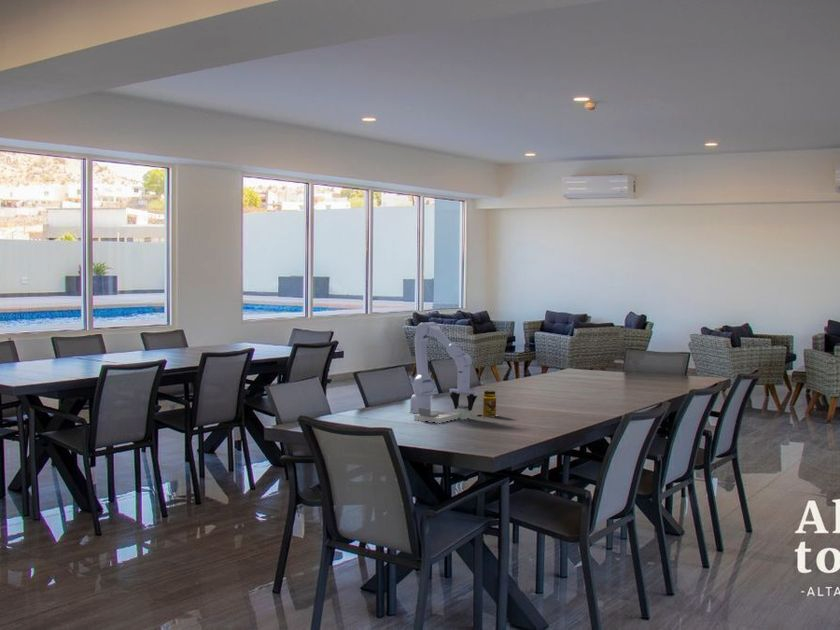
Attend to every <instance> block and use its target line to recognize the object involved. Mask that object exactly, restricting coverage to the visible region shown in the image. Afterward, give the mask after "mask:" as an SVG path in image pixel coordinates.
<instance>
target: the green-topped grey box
mask: <svg viewBox="0 0 840 630" xmlns="http://www.w3.org/2000/svg"><path fill="white" fill-rule="evenodd" d="M456 413H457V414H459V418H460V419H459V420H463V419H465V420H468V419H467V418H469V419H470V411H468V404H467V405H465V404H460V405H459V406H457V409H456Z"/></svg>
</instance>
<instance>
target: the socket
mask: <svg viewBox="0 0 840 630" xmlns="http://www.w3.org/2000/svg"><path fill="white" fill-rule="evenodd" d="M431 412H432V413H439V415H438V416H433V417H427V416H420V415H419V414H416V413H415V414H414V415H413V416H414V417H413V420H414V421H417V420H420V421H419V422H425V421H428V422H427V423H432V422H435V423H434V424H439V423H440V424H443V423H442V422H444V423H447V422H446V421H448V422H451V421H450V420H452V421H455V420H454V419H456V420H459V419H458V418H459V414H457V412H450V411H440V410H431Z"/></svg>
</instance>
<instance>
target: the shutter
mask: <svg viewBox="0 0 840 630" xmlns="http://www.w3.org/2000/svg"><path fill="white" fill-rule="evenodd" d="M431 411H432V408H431V409H426V408H419V415H420V416H427V417H433V416H438V415H439V413H432V412H431Z"/></svg>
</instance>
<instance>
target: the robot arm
mask: <svg viewBox="0 0 840 630" xmlns="http://www.w3.org/2000/svg"><path fill="white" fill-rule="evenodd" d="M431 338H435V339H436V340H437V341H438V342H439V343H441V344H442V345H443V346H444V347H445V348H446V353H447V354H448V355H449V356H450V358H452V359H453V360H454V364H455V366H456V369H457V384H456V385H457V386H456V387H457V388H449V396H450V398H451V400H452V402H453V403H452V404H453V406H454V407H453V408H454V410H457V406H459V404H460V400H459V399H460V395H466V399H467V406H468V411H469V412H470V411H473V407H474V405H475V404H474V403H475V402H476V399H477V398H478V395H479V391H478V390H472V389H470V388H471V387H470V386H471V384H470V382H471V379H470V378H471V365H472V364H473V359H472V358H473V357H472V356H471V355H470V354H468V353H466V352H465V351H464V350H462V349H461V347H460V345H459V344H458V343H455V342H451V340H450V339H449V338H448V337H447V335H446V334H445V333H444V332H443V331H442V330H441V327H440V326H439V325H438V324H437V322H435V321H430V322H420V323H418V325H417V326H415V335H414V338H413V339H414V340H413V341H414V353H415V354H414V355H415V364H416V365H415V366H416V376H415V377H414V379H413V384H412V385H413V386H412V392H413V394H412V395H411V397H410V408H409V409H410V411H409V413H410V414H415V415H416V414H419V408H426V409H431V410H432V407H431V405H432V402H431V401H432V400H431V399H432V393H433V391H434V389H435V385H434V382H433V380H432V379H433V378H432V377H431V376H430V375H429V365H428V364H429V363H428V354H427V353H428V351H427V341H428V340H429V339H431Z"/></svg>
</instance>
